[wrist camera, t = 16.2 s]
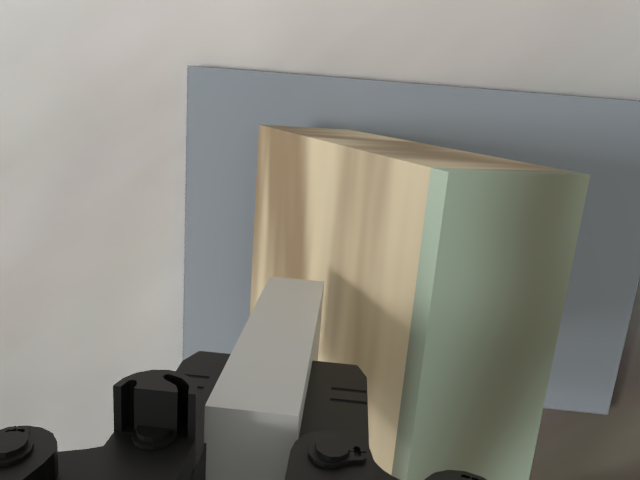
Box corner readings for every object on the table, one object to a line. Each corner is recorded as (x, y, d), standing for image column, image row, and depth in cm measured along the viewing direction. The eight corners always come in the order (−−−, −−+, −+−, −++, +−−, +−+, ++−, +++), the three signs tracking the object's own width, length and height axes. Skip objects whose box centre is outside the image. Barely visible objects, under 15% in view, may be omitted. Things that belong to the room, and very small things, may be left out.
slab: (247, 359, 24) (392, 579, 14) (259, 124, 21) (448, 172, 11) (330, 348, 26) (517, 536, 15) (350, 129, 23) (590, 174, 13)
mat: (186, 365, 27) (182, 371, 26) (191, 66, 23) (187, 65, 23) (602, 407, 26) (607, 414, 26) (672, 104, 23) (680, 104, 22)
